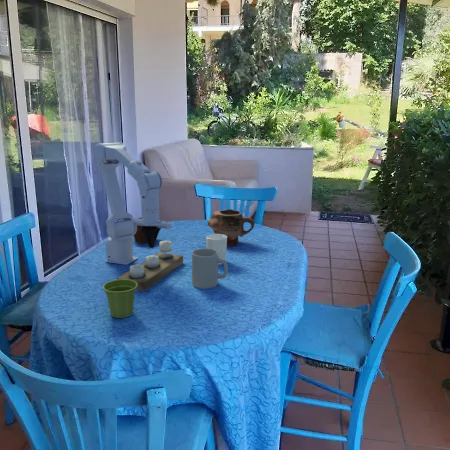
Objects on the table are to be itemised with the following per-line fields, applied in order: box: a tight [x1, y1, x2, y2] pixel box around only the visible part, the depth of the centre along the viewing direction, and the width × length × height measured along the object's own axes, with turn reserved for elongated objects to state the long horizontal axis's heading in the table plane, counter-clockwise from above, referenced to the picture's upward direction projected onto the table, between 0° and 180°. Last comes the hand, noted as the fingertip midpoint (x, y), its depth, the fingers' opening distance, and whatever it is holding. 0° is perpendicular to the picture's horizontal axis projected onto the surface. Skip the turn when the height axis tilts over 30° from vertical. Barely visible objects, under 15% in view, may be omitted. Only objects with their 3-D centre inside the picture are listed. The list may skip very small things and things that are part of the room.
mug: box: [191, 248, 229, 290], centre depth 147 cm, size 12×8×11 cm
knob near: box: [129, 263, 144, 278], centre depth 146 cm, size 4×4×3 cm
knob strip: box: [116, 251, 184, 292], centre depth 156 cm, size 10×28×3 cm, turn 159°
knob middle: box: [145, 254, 159, 268], centre depth 156 cm, size 4×4×3 cm
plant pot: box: [102, 279, 138, 319], centre depth 126 cm, size 9×9×9 cm
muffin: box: [133, 216, 148, 244], centre depth 194 cm, size 12×11×10 cm
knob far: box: [158, 240, 173, 253], centre depth 164 cm, size 4×4×3 cm
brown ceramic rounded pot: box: [207, 208, 256, 247], centre depth 190 cm, size 20×12×14 cm, turn 85°
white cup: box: [205, 233, 228, 266], centre depth 168 cm, size 8×8×10 cm
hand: (151, 247), depth 154 cm, fingers closed
